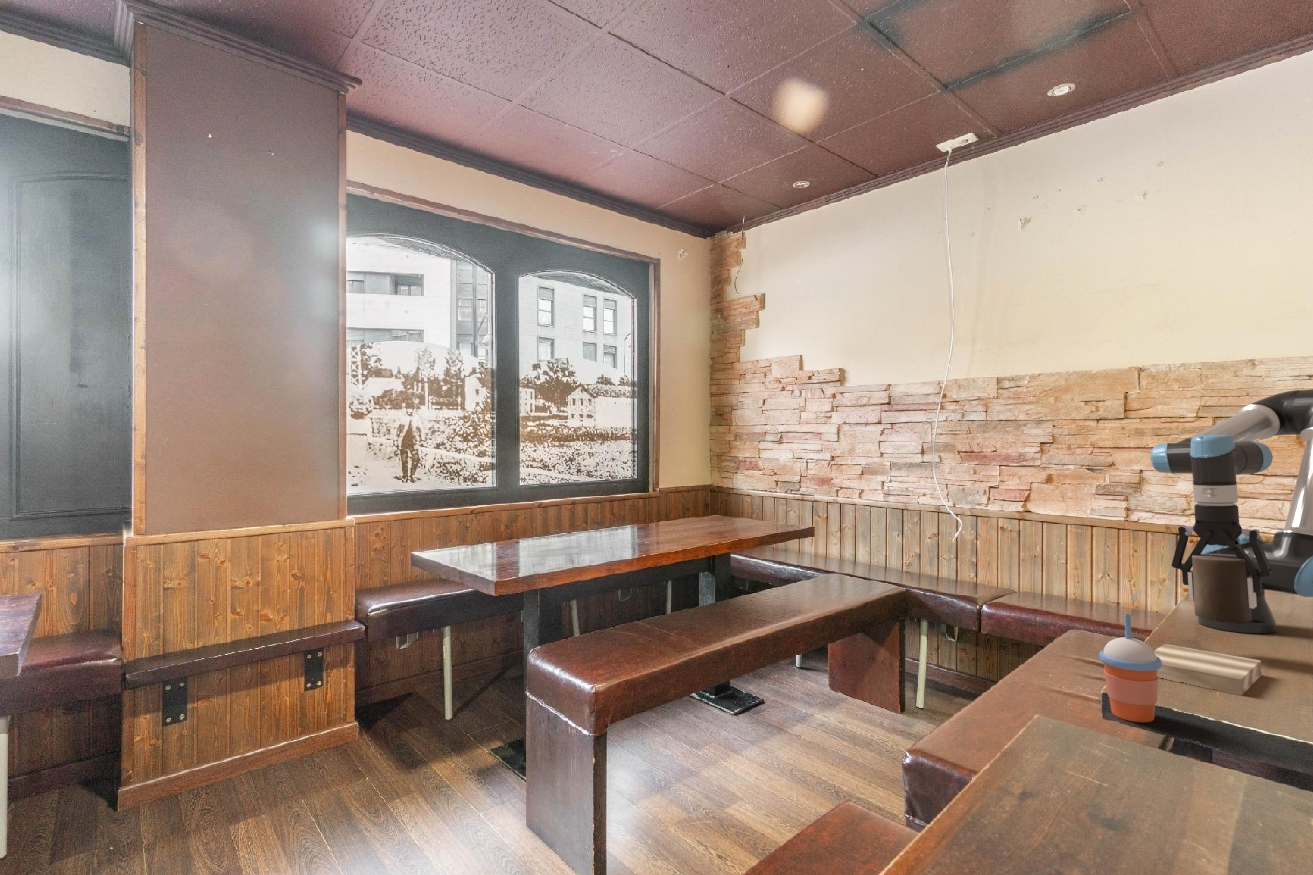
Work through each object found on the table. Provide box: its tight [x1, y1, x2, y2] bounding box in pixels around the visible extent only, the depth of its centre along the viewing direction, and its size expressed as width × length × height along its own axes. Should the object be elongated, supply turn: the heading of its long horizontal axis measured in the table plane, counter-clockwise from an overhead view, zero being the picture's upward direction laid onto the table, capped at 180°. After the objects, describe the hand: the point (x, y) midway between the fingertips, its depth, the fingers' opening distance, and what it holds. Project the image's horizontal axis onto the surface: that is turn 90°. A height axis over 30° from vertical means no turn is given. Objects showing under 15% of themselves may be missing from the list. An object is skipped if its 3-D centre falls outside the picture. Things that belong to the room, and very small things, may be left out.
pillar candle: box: [1192, 551, 1252, 624], centre depth 146 cm, size 10×10×15 cm
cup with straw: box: [1098, 613, 1162, 723], centre depth 116 cm, size 9×9×18 cm
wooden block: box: [1153, 643, 1262, 696], centre depth 135 cm, size 16×16×3 cm
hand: (1222, 603), depth 146 cm, fingers closed on pillar candle, 10 cm apart
